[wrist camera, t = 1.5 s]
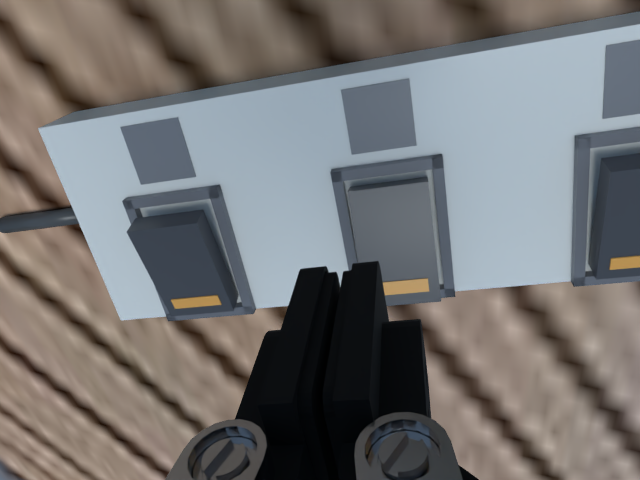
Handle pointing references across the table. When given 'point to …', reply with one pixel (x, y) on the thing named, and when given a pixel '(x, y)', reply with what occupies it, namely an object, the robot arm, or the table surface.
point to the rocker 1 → (184, 262)
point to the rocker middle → (397, 237)
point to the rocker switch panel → (364, 162)
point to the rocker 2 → (617, 219)
